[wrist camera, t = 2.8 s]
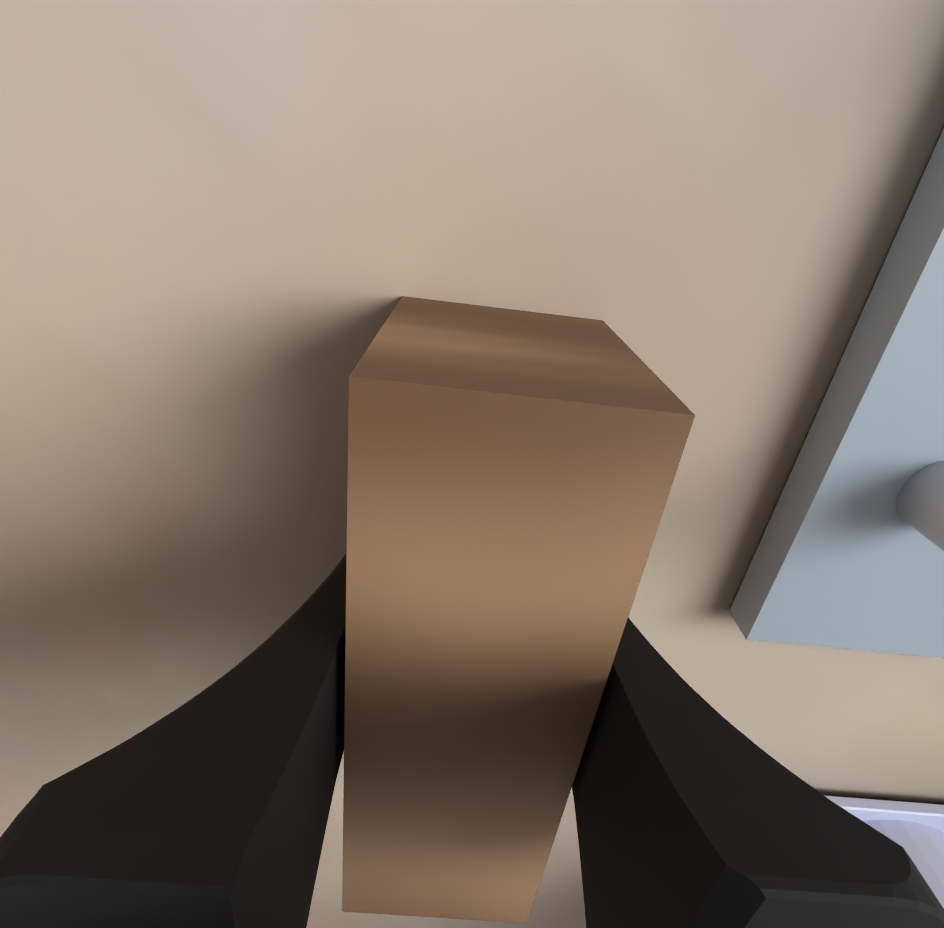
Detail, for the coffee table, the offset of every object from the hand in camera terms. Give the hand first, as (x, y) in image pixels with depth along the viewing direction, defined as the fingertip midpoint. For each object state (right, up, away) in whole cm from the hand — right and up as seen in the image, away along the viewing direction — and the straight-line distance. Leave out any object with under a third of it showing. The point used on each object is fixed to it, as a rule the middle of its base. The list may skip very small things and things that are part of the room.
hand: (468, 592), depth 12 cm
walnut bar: (0, +1, +1) cm, 1 cm away
